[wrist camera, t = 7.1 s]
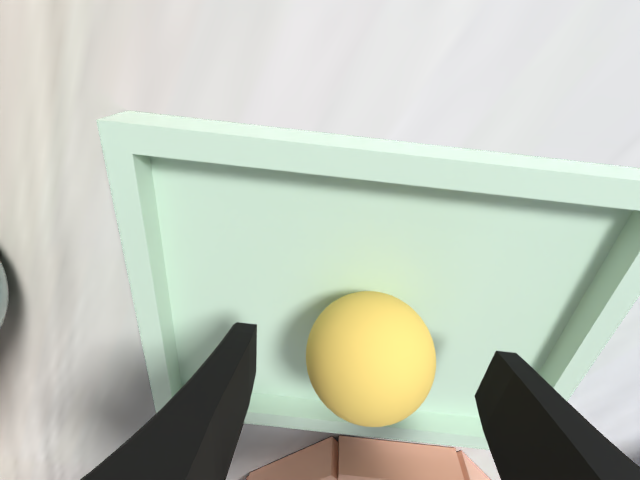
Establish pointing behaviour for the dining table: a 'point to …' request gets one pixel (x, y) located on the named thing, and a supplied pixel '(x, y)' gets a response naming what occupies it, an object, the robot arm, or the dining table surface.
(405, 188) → the tray
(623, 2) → the dining table surface
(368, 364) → the ball
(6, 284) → the cup
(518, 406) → the robot arm
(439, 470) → the dish
